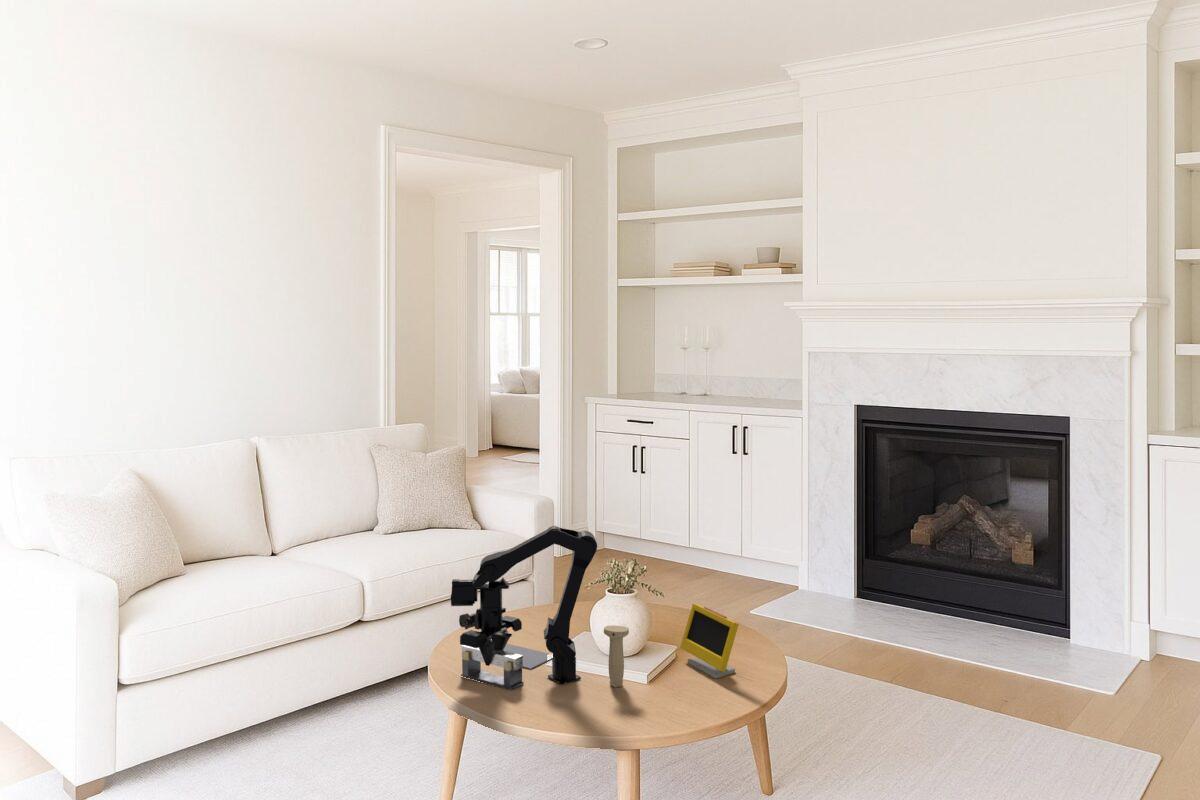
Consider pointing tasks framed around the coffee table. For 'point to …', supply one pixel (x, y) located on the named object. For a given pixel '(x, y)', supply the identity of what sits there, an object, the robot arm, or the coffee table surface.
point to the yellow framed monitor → (709, 641)
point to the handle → (616, 653)
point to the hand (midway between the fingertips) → (491, 663)
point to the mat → (528, 655)
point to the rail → (496, 657)
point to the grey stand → (491, 674)
